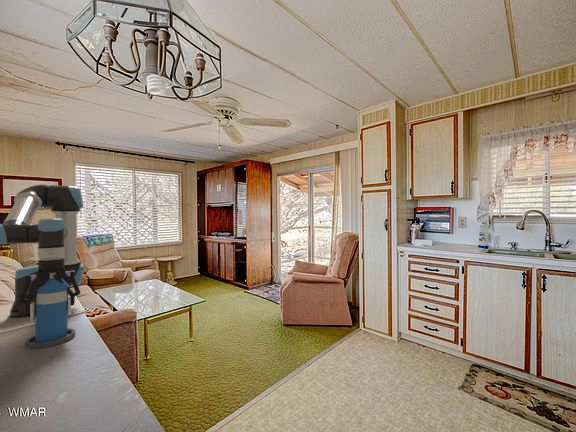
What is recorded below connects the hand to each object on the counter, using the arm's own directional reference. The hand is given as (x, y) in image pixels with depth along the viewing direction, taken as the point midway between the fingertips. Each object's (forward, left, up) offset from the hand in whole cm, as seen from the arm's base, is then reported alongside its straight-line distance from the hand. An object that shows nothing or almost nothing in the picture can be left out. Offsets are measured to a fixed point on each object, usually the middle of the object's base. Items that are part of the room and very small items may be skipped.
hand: (51, 317), depth 101 cm
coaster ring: (0, 0, -9) cm, 9 cm away
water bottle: (0, 0, -8) cm, 8 cm away
